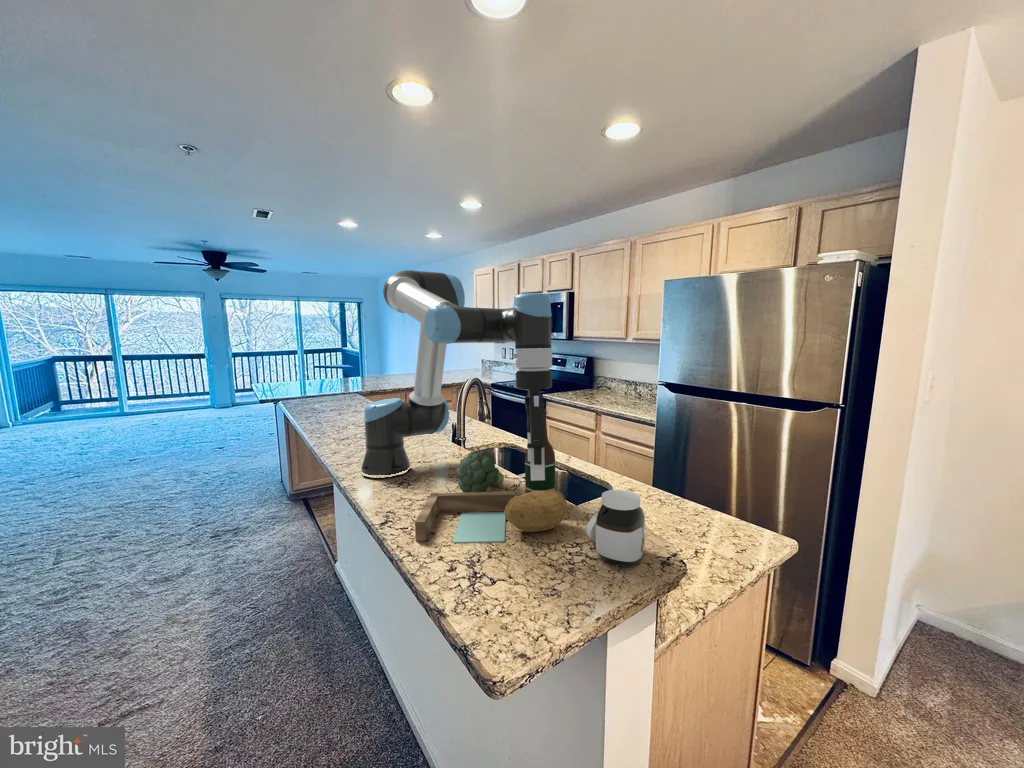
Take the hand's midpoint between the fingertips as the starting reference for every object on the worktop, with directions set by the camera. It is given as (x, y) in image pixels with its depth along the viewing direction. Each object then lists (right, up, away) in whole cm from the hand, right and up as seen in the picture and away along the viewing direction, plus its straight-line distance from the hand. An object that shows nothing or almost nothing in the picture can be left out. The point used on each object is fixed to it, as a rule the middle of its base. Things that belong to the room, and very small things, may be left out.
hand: (535, 469), depth 85 cm
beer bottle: (+2, -12, +15) cm, 20 cm away
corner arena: (-15, -13, +5) cm, 20 cm away
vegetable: (-14, -12, +25) cm, 31 cm away
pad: (-12, -13, +3) cm, 18 cm away
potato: (0, -13, +1) cm, 13 cm away
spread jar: (+14, -14, -9) cm, 22 cm away
